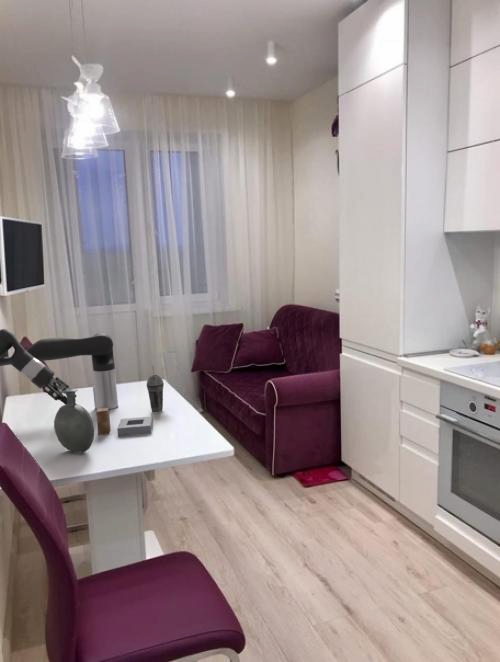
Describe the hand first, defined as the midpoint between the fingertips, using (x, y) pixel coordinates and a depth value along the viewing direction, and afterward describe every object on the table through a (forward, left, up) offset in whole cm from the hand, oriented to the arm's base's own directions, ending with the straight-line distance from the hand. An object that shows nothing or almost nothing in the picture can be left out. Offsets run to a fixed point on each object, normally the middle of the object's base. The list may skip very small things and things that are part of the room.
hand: (72, 401), depth 195 cm
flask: (+13, -15, -13) cm, 24 cm away
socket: (+19, +12, -13) cm, 26 cm away
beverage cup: (+13, +36, -13) cm, 40 cm away
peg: (+9, +6, -13) cm, 17 cm away
